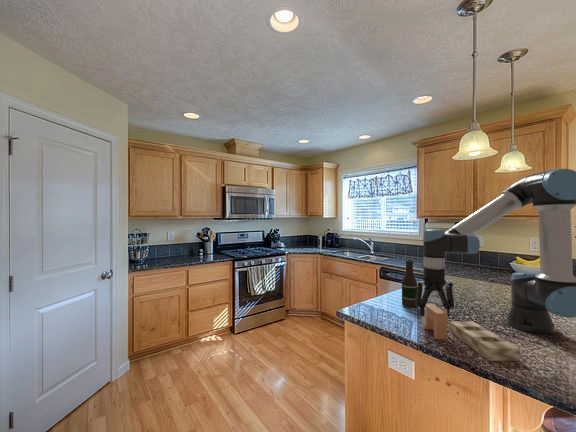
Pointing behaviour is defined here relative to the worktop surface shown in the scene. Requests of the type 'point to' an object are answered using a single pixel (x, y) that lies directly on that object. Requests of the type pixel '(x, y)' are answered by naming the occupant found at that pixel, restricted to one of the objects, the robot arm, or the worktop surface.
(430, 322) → the orange-brown block
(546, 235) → the robot arm
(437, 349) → the worktop surface
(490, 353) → the beige flat slotted piece
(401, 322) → the worktop surface
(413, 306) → the beer bottle
